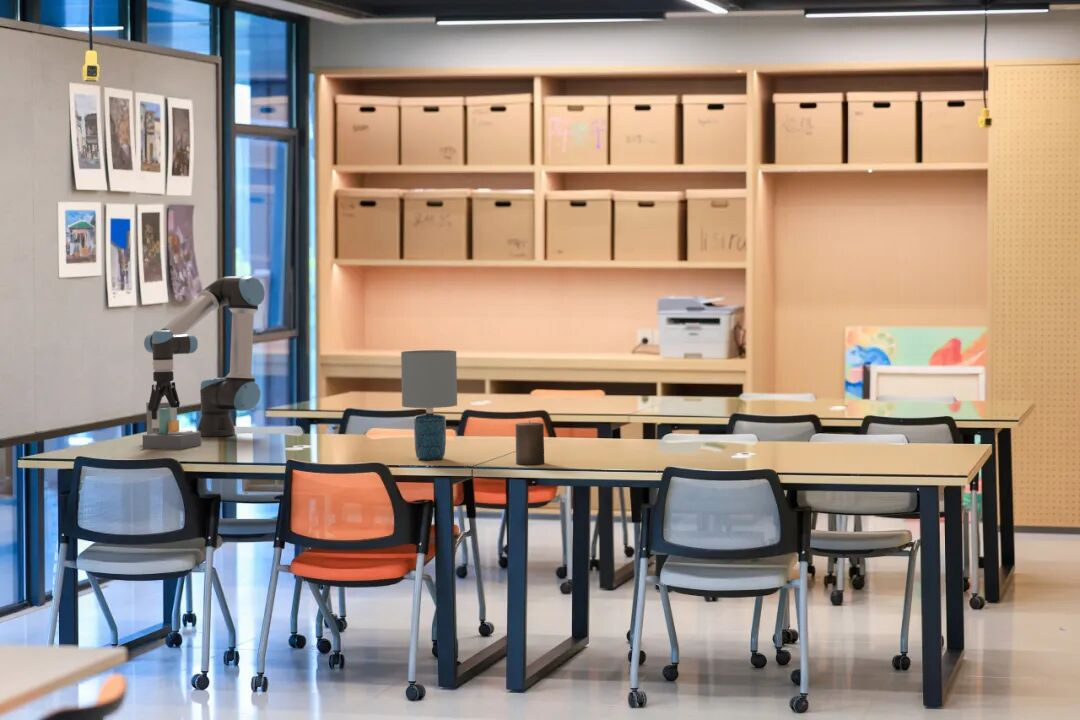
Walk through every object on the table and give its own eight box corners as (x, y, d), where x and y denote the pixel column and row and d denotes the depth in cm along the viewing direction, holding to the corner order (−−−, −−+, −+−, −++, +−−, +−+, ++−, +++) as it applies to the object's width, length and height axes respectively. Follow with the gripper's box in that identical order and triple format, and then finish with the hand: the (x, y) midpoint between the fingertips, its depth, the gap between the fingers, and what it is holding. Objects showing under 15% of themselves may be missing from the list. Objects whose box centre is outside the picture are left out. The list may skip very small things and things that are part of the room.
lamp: (413, 463, 543) (411, 353, 541) (395, 457, 561) (393, 351, 559) (465, 460, 551) (464, 351, 549) (446, 454, 568) (445, 349, 566)
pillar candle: (548, 464, 537) (548, 420, 536) (521, 465, 533) (521, 421, 533) (538, 461, 546) (537, 418, 545) (511, 463, 542) (511, 419, 542)
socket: (163, 443, 616) (163, 431, 616) (201, 444, 612) (200, 431, 611) (142, 448, 601) (142, 435, 600) (180, 449, 596) (180, 436, 596)
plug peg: (163, 444, 610) (162, 408, 609) (173, 444, 608) (172, 408, 608) (157, 445, 605) (156, 409, 604) (167, 446, 604) (166, 409, 603)
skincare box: (154, 443, 618) (153, 403, 617) (145, 442, 623) (144, 402, 622) (174, 441, 623) (173, 401, 622) (165, 440, 628) (164, 400, 628)
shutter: (176, 432, 609) (176, 419, 609) (192, 432, 607) (192, 419, 607) (167, 434, 602) (167, 421, 602) (183, 434, 600) (183, 421, 600)
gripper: (170, 368, 618) (171, 422, 619) (137, 372, 594) (139, 429, 595) (187, 368, 616) (189, 423, 617) (155, 373, 592) (157, 429, 593)
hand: (164, 426), depth 606 cm, fingers open, 13 cm apart
